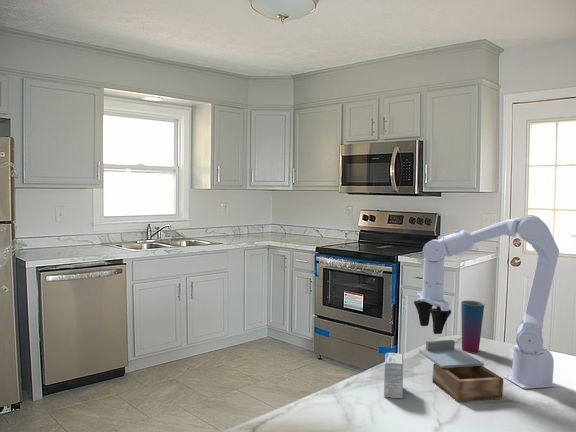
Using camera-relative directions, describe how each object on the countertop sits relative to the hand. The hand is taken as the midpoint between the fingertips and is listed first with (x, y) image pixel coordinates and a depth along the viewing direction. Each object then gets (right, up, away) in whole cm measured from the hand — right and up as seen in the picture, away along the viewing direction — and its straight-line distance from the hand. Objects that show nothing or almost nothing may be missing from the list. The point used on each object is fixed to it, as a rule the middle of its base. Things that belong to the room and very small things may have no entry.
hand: (430, 329), depth 142 cm
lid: (+3, -6, -9) cm, 11 cm away
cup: (+17, -10, +15) cm, 25 cm away
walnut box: (+4, -12, -16) cm, 20 cm away
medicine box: (-15, -12, -18) cm, 26 cm away
